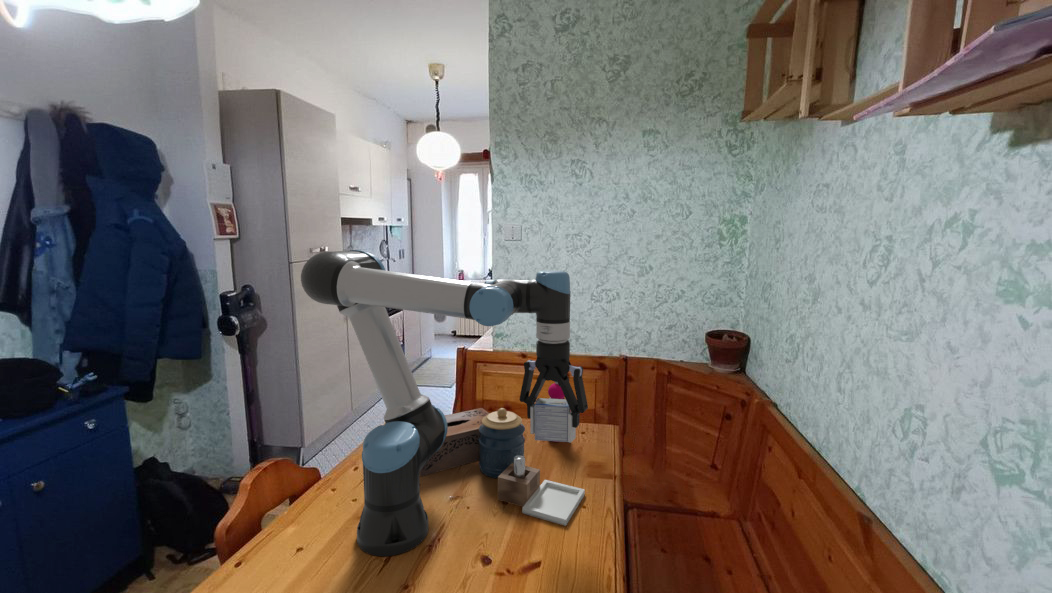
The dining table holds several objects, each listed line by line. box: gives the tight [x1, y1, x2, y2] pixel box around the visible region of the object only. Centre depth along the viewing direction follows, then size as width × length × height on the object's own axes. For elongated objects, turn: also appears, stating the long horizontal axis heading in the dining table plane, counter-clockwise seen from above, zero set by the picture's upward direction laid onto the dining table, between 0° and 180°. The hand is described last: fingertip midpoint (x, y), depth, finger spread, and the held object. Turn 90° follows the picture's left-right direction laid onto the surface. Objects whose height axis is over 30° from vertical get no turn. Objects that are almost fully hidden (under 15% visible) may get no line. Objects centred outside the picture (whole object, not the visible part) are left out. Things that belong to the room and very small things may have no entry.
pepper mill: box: [547, 382, 566, 443], centre depth 148 cm, size 7×7×20 cm
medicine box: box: [534, 397, 571, 443], centre depth 104 cm, size 8×4×9 cm, turn 81°
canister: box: [478, 407, 526, 479], centre depth 128 cm, size 13×13×18 cm
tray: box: [521, 479, 586, 527], centre depth 112 cm, size 11×14×2 cm
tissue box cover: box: [419, 407, 491, 477], centre depth 136 cm, size 26×14×10 cm, turn 122°
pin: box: [514, 455, 526, 479], centre depth 115 cm, size 3×3×10 cm
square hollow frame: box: [497, 463, 541, 507], centre depth 115 cm, size 8×8×6 cm
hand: (552, 435), depth 105 cm, fingers closed on medicine box, 9 cm apart
